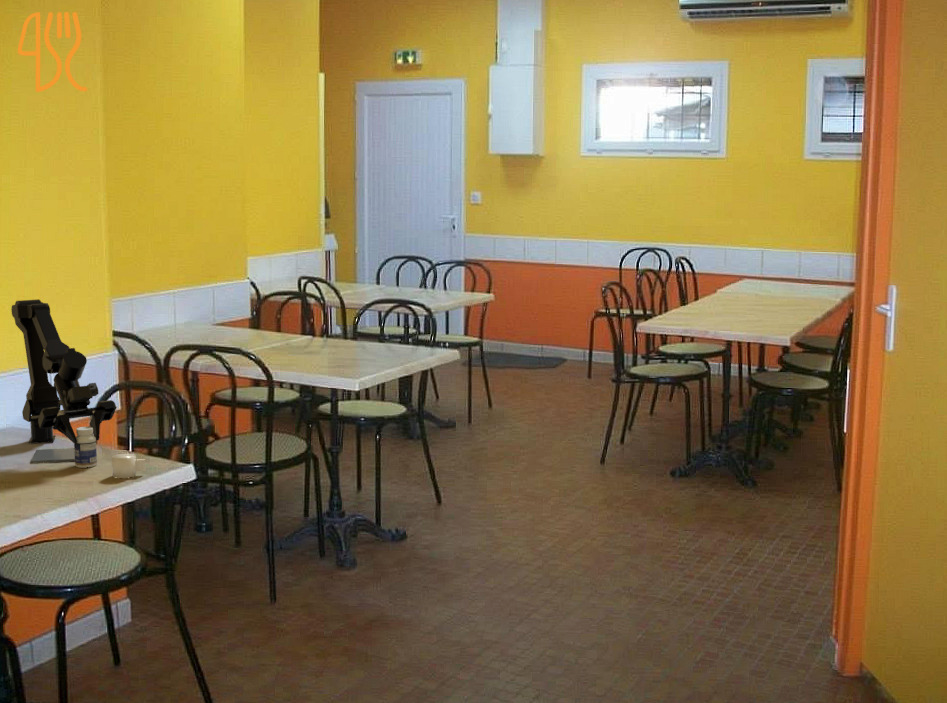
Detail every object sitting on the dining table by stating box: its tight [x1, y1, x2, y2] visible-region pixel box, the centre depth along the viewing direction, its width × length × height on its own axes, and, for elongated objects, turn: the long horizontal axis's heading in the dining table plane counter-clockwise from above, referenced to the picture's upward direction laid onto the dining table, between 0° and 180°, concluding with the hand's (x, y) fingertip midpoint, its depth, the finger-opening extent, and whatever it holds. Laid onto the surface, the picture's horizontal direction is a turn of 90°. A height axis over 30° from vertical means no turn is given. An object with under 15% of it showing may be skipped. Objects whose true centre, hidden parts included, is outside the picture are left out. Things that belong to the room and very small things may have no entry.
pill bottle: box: [73, 426, 98, 469], centre depth 300 cm, size 5×5×10 cm
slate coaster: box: [30, 447, 75, 464], centre depth 309 cm, size 12×12×1 cm
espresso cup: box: [111, 453, 146, 479], centre depth 291 cm, size 6×8×5 cm
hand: (87, 441), depth 298 cm, fingers closed on pill bottle, 5 cm apart
